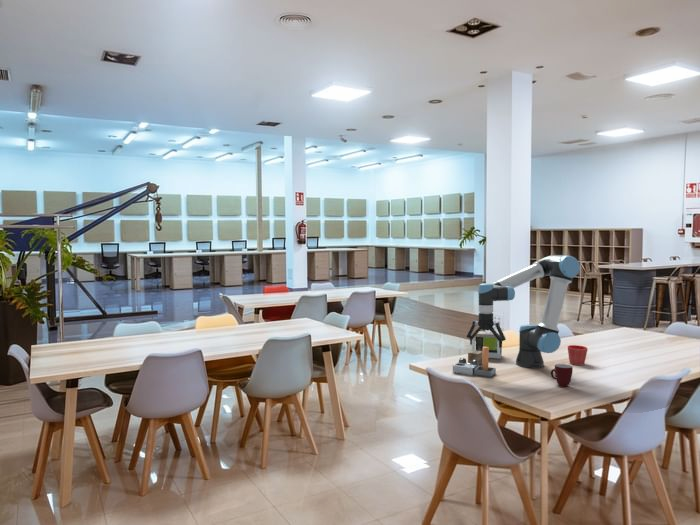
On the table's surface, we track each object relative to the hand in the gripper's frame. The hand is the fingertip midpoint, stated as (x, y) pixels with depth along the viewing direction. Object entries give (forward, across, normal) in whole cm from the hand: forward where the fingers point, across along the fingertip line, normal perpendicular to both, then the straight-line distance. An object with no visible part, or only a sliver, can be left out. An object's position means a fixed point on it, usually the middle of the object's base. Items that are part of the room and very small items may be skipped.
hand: (485, 352), depth 276 cm
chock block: (+12, +12, -20) cm, 26 cm away
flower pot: (+13, -39, -51) cm, 65 cm away
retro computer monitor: (+13, +10, -42) cm, 45 cm away
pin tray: (+12, 0, 0) cm, 12 cm away
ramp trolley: (+12, +11, -1) cm, 16 cm away
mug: (+13, -38, +1) cm, 40 cm away
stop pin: (+11, 0, 0) cm, 11 cm away
